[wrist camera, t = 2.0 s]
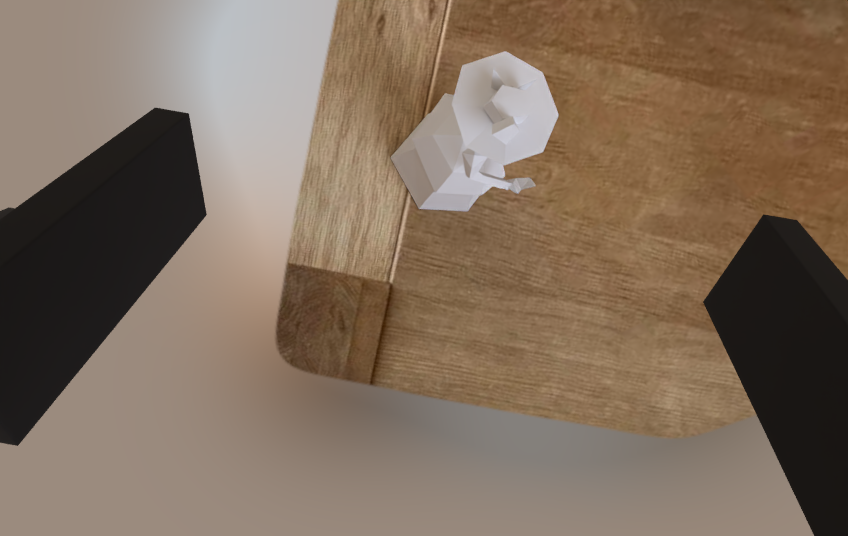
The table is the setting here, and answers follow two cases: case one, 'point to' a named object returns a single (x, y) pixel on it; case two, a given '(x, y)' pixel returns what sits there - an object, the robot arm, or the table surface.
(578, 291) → the table surface
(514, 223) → the table surface
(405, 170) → the figurine
